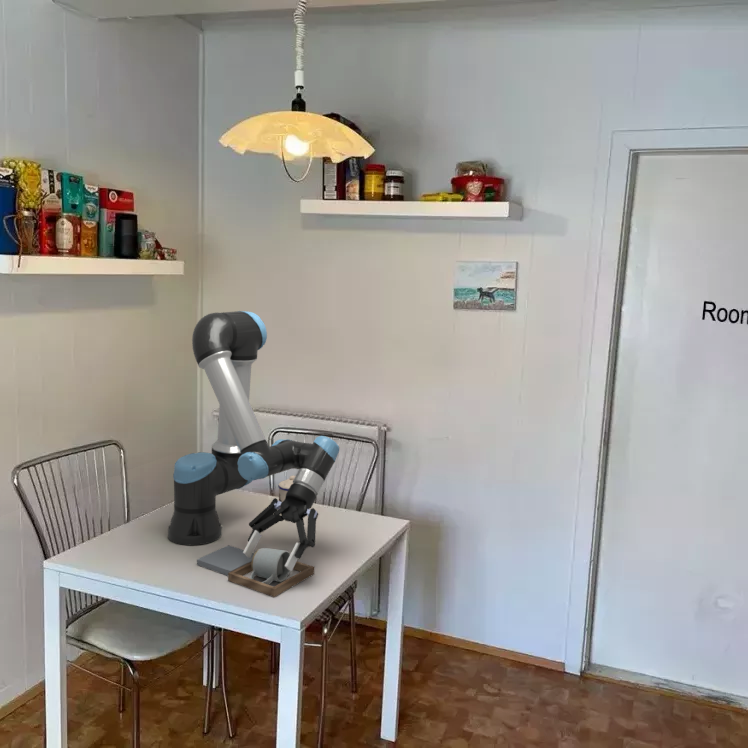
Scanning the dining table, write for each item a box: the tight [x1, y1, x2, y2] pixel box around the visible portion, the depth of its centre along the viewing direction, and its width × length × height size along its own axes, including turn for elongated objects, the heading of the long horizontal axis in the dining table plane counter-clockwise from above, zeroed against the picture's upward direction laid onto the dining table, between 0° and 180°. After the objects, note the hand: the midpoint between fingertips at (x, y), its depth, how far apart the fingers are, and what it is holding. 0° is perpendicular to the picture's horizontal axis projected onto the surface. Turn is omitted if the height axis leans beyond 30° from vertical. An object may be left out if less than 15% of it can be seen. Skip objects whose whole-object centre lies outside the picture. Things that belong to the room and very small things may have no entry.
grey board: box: [196, 544, 255, 577], centre depth 193 cm, size 12×12×2 cm
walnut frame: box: [227, 560, 315, 598], centre depth 185 cm, size 15×16×2 cm
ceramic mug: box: [249, 547, 291, 585], centre depth 184 cm, size 11×8×8 cm
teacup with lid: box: [278, 475, 296, 502], centre depth 231 cm, size 12×9×12 cm
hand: (266, 561), depth 183 cm, fingers open, 13 cm apart
